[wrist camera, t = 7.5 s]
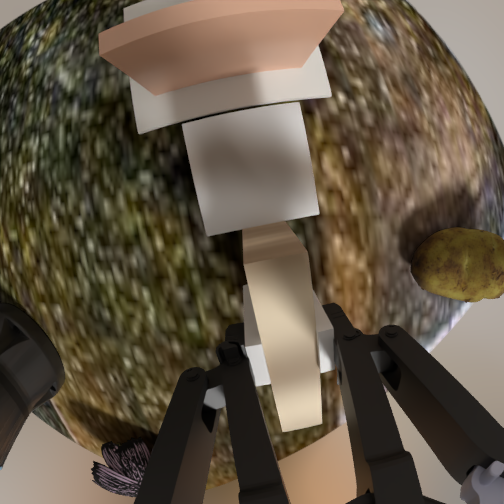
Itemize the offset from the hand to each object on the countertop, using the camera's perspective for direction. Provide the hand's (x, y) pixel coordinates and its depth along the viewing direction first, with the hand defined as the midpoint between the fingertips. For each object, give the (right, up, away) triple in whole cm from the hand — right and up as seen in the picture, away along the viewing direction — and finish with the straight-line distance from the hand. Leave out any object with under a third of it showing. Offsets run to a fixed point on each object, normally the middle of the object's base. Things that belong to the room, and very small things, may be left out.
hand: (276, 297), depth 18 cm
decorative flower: (-20, -29, +15) cm, 38 cm away
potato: (+20, +3, +6) cm, 21 cm away
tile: (-4, +17, 0) cm, 18 cm away
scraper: (-1, +3, 0) cm, 3 cm away
